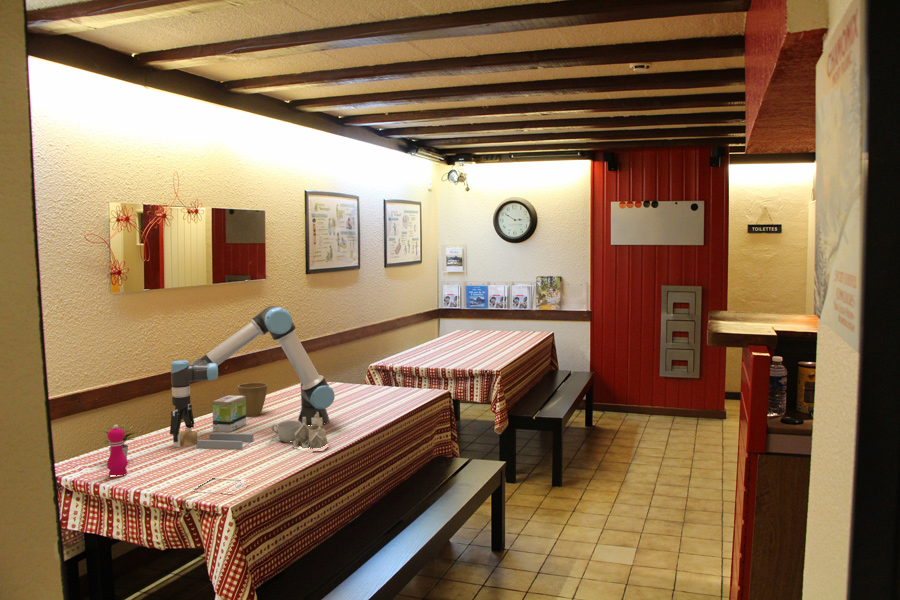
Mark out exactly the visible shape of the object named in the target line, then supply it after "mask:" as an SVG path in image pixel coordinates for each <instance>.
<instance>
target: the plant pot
mask: <svg viewBox="0 0 900 600" xmlns="http://www.w3.org/2000/svg"><path fill="white" fill-rule="evenodd" d="M237 387H238V394H239V395H238V396H246V417H257V416H258V415H259V416H260V415H261V414H262V411H263V408H264V405H265V403H266V402H265V401H266V396H267V391H268V390H267V389H268V384H267V383H265V382H246V383H245V382H244V383H241V384H238V385H237Z"/></svg>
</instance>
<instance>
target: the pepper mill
mask: <svg viewBox="0 0 900 600" xmlns="http://www.w3.org/2000/svg"><path fill="white" fill-rule="evenodd" d="M112 428H113V429H110V430H108V431H109V432H108V431H107V432H108V434H107V436H106V438H107V437H108V438H107V440H108V441H110V442H109V443H108V445H109V447H111V454H110V453H109V454H110V455H109V457H108V459H107V463H106V468H107V469H108V476H109V475H116V476H117V475H124V474H126V473H128V469H126V468H127V466H128V464H129V463H128V461H129V460H128V457H127V458H126V456H125V455H124V452H123V448H122V446H123V444H125V442H124V443H123V441H124V440H123V438H124V436H125V435H126V433H124V432H125V430H124V429H123V430H122V429H120V427H119V424H118V425H117V423H116V424H114V425H113V426H112Z"/></svg>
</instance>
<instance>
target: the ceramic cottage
mask: <svg viewBox="0 0 900 600" xmlns="http://www.w3.org/2000/svg"><path fill="white" fill-rule="evenodd" d="M311 422H312V426H307V425H306V417H302V424H301V426H300V428H298V430H297V431H296V432H295V441H294V442H292V447H293V446H294V447H299V446H301V447H302V448H309V447H310V449H311V448H312V449H313V448H321V447H323V446H325V445H326V444H328V443H329V441H328V438H327V437H326V436H327V435H326V429H325V428H324V427H323V426H324V425H322V424H323V420H322V418H319V412H317V413H316V414H315V416H314V418H311Z"/></svg>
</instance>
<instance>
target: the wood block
mask: <svg viewBox="0 0 900 600" xmlns="http://www.w3.org/2000/svg"><path fill="white" fill-rule="evenodd" d="M179 434H180V446H193V445H195V444H197V440H199V439H198V431H196V430H195V431H185V430H179Z"/></svg>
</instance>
